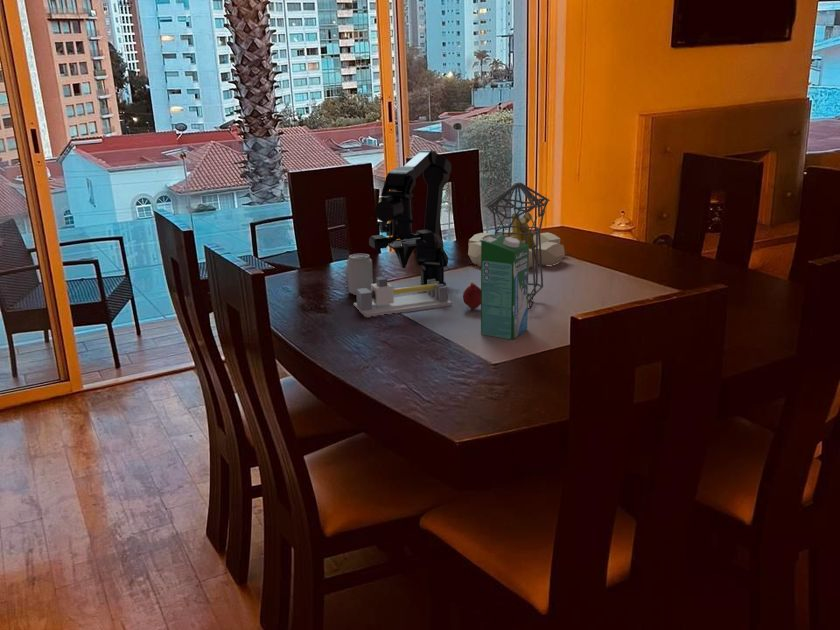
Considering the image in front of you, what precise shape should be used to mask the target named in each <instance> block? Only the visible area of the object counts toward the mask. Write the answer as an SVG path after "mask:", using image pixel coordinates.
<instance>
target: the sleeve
mask: <svg viewBox="0 0 840 630" xmlns="http://www.w3.org/2000/svg"><path fill="white" fill-rule="evenodd" d="M393 289H394V286H393V285H392V284H391V283H389V282H388V278H387V277H385V276H377V277H375V283H373V284H371V291H375V294H376V298H374V299H372V301H373V302H374V303H375V304H376V305H383V304H390V303H394V297H395V296H394V295H393Z"/></svg>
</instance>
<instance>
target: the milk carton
mask: <svg viewBox="0 0 840 630" xmlns="http://www.w3.org/2000/svg"><path fill="white" fill-rule="evenodd" d="M493 234H494V235H492V236H489V237H487V238H484V239H482V240H481V267H480V289H481V305H480V335H483V336H488V337H495V338H500V339H506V340H512V341H513V340H514V339H516V338H517V337H518V336H520V335H522V332H523V331H524V332H526V331H527V330H528V318H529V317H528V314H529V313H528V307H529V302H528V299H529V297H528V293H529V285H528V283H529V270H530V268H529V245H528V244H525V243H523V242H520V241H519V240H518V239H515V238H512V237H507V236H504V235H501V234H499V233H496V234H495V233H493ZM526 329H527V330H526ZM525 330H526V331H525ZM524 332H523V333H524Z"/></svg>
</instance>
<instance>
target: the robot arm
mask: <svg viewBox="0 0 840 630" xmlns="http://www.w3.org/2000/svg"><path fill="white" fill-rule="evenodd" d="M451 172H452V163H451V162H450V161H449V160H448V158H447V157H445V156H443V155H441V154H439V153H437V151H435V150H433V149H420V150H418V151H417V153H416V155H415V156H413V157H412V158H410V160H409V161H407V163H406V164H404V165H403V166H402V167H401V166H400V167H396V168H393V169H391V170H390V171H388V173H387V175H386V176H385V179H384V184H383V187H382V190H381V194H380V195H381V197H380V202H378V203H377V204H376V206H375V210H374V212H375V216H376V217H377V219H378V220H379V232H380V233H381V234H377V235H370V236H369V238H368V246H370V247H371V248H372V249H374V250H380V249H387V247H389V248H391V249H392V250H393V251H394V253H395V255H396V257H397V260H398V261H399V264H400V267H401V268H402V269H406V267H407V265H408V262H409V259H410V258H411V255H412V254H413V251H414V250H415V257H416V263H417V266H421V269H420V281H419V282H420V284H421V285H427V280H430V279H435V280H436V281H439V284H443V285H444V286H445V285H447V283H446V282H445V273H444V272H445V267H447V266H448V264H449V256H448V255H447V253H446V251H445V248H444V242H443V240H442V238H441V235H440V228H441V227H440V226H441V215H442V206H443V205H442V202H443V193H444V187H446V185H447V183H448V182H449V180H450V177H451V176H450V175H451ZM421 174H422V175H423V180H424V182H425V185H426V186H427V189H426V191H427V192H426V203H425V206H426V207H425V213H424V215H425V216H424V227H423V229H421V230H420V229H419V230H416V231H415V233H413V225H412V224H414V219H413V218H412V217H413V216H412V198H413V197H414V193H412V191H413V189H414V188H415V187H416V185H417V183H416V179H417V178H418V177H419V176H420V175H421ZM384 233H386V234H385V235H386V236H385V235H383V234H384ZM415 248H416V249H415Z"/></svg>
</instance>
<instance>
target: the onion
mask: <svg viewBox="0 0 840 630" xmlns="http://www.w3.org/2000/svg"><path fill="white" fill-rule="evenodd" d="M462 300H463V302H464V304H465V305H466V306H467V307H468V308H469V309H470V310H472V311H473V310H476V309H477V308H478V307H481V287H479V286H478V285H476V284H475V283H474V282H473V281H471V282H470V285H469V286H467V288H466V289H465V290H464V291H463V293H462Z"/></svg>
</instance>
